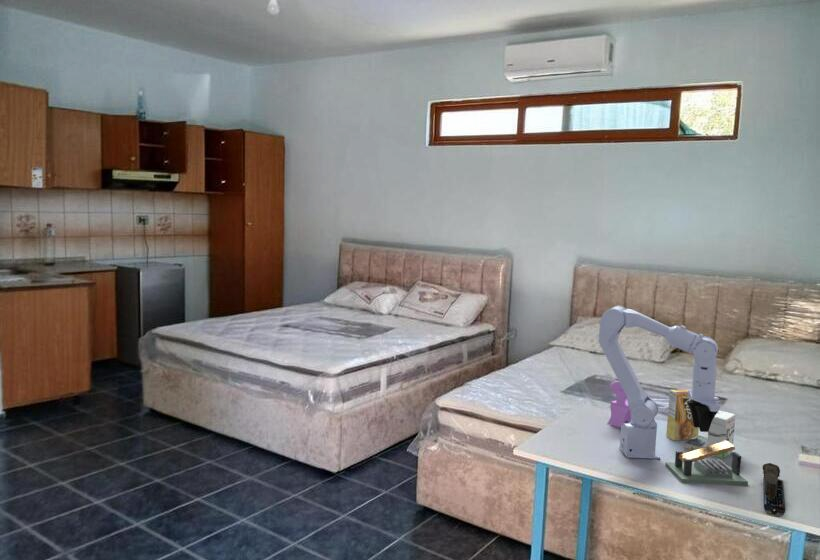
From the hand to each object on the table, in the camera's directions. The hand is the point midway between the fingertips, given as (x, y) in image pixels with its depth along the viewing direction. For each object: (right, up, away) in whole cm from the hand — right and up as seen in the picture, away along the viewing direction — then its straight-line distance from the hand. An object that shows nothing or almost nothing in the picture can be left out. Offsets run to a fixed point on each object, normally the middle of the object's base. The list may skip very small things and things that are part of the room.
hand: (701, 429), depth 168 cm
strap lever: (-2, -5, -6) cm, 8 cm away
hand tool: (+12, -13, -14) cm, 22 cm away
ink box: (+11, -10, +11) cm, 18 cm away
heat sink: (-1, -10, -6) cm, 12 cm away
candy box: (+5, -9, +23) cm, 25 cm away
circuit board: (-2, -11, -6) cm, 13 cm away
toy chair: (-10, -7, +35) cm, 37 cm away
